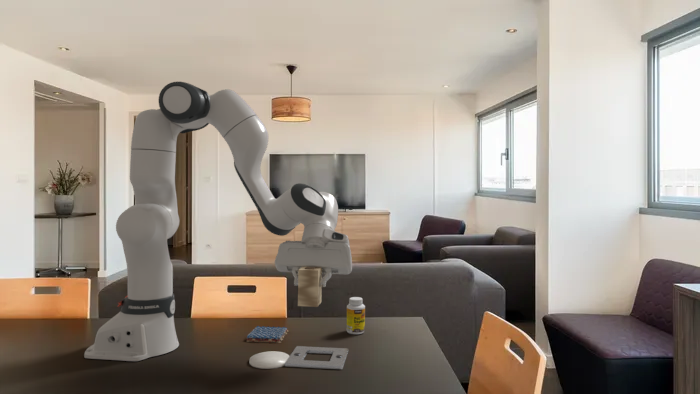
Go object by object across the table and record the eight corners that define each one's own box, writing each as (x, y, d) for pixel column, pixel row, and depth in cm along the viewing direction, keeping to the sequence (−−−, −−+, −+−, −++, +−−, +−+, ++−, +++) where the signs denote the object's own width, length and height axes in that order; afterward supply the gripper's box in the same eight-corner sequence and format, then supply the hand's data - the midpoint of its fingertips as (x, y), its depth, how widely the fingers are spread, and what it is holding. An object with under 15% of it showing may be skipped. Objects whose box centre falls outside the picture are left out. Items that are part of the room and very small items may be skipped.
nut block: (297, 305, 109) (298, 268, 109) (302, 301, 114) (302, 265, 114) (317, 306, 109) (318, 269, 109) (321, 302, 114) (322, 266, 113)
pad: (245, 369, 105) (245, 366, 105) (252, 353, 115) (252, 351, 115) (288, 368, 105) (288, 365, 105) (291, 353, 115) (291, 351, 115)
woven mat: (244, 343, 124) (244, 336, 124) (255, 331, 135) (255, 325, 135) (280, 345, 123) (280, 337, 123) (289, 333, 134) (289, 326, 134)
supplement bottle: (353, 336, 129) (353, 301, 129) (342, 331, 134) (343, 297, 134) (368, 333, 133) (368, 299, 132) (358, 328, 137) (358, 295, 137)
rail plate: (284, 366, 107) (284, 362, 107) (296, 349, 119) (296, 345, 119) (342, 369, 105) (342, 365, 105) (348, 351, 117) (348, 348, 117)
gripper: (278, 233, 119) (266, 276, 110) (353, 235, 117) (348, 279, 107) (282, 247, 124) (271, 290, 114) (355, 250, 121) (350, 293, 112)
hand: (309, 285), depth 111 cm, fingers closed on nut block, 5 cm apart
